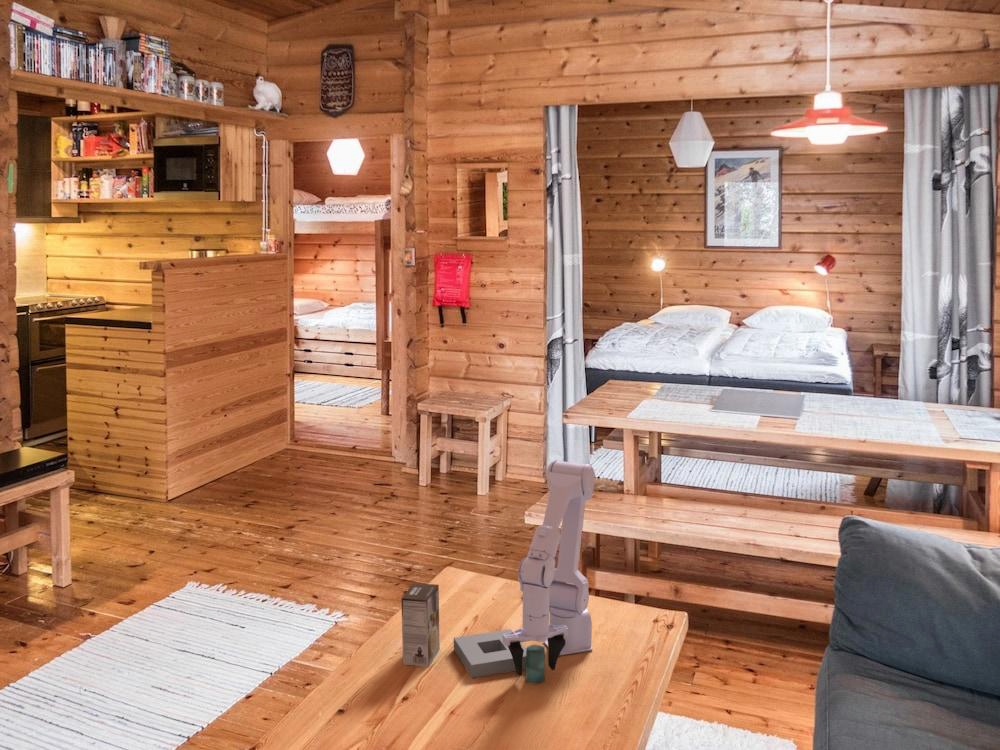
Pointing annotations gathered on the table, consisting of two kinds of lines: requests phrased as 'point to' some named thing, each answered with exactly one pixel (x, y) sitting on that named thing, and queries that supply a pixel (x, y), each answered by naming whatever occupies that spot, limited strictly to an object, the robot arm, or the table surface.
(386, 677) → the table surface
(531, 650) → the peg
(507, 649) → the socket
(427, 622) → the coffee box
